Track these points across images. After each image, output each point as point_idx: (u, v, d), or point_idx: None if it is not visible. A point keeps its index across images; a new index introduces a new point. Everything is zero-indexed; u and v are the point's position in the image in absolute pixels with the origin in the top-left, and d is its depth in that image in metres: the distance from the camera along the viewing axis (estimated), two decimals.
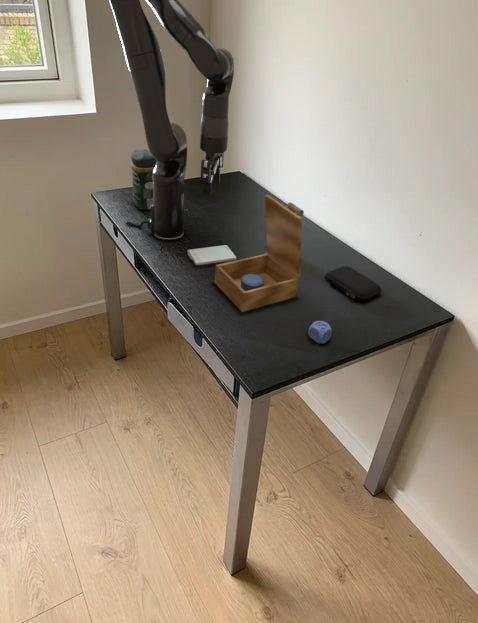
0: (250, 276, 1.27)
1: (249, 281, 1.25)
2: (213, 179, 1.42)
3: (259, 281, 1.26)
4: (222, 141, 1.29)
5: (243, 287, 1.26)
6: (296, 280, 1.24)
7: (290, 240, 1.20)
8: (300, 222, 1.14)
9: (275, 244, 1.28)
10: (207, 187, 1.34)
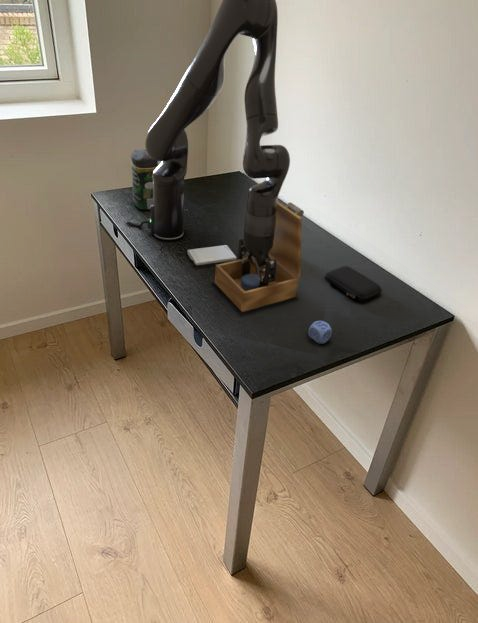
0: (250, 276, 1.27)
1: (249, 281, 1.25)
2: (244, 272, 1.29)
3: (259, 281, 1.26)
4: None
5: (243, 287, 1.26)
6: (296, 280, 1.24)
7: (290, 240, 1.20)
8: (300, 222, 1.14)
9: (275, 244, 1.28)
10: (266, 285, 1.23)
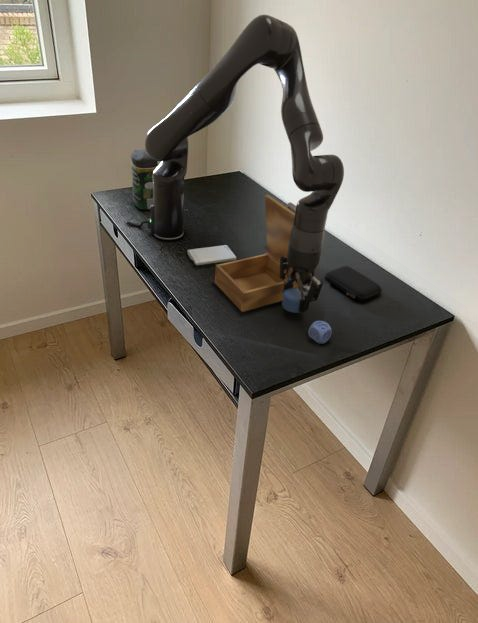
0: (293, 291, 1.19)
1: (293, 297, 1.16)
2: None
3: None
4: None
5: (286, 303, 1.17)
6: None
7: None
8: None
9: (275, 244, 1.28)
10: (308, 304, 1.15)
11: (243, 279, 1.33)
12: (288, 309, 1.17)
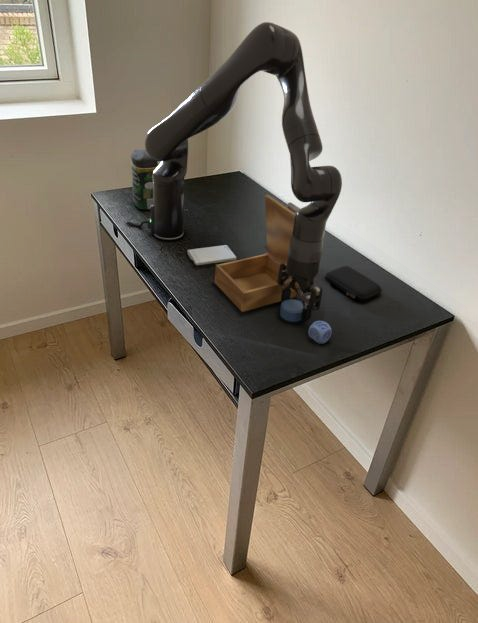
0: (290, 302, 1.21)
1: (290, 308, 1.18)
2: (284, 298, 1.21)
3: (300, 308, 1.19)
4: None
5: (283, 314, 1.19)
6: None
7: None
8: None
9: (275, 244, 1.28)
10: (310, 313, 1.15)
11: (243, 279, 1.33)
12: None
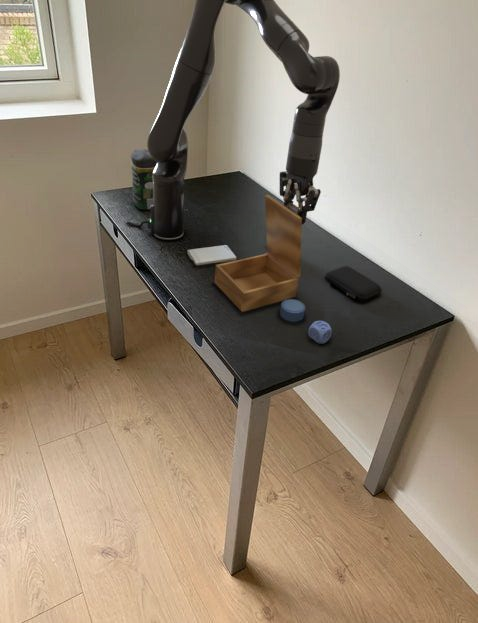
0: (290, 302, 1.21)
1: (290, 308, 1.18)
2: None
3: (300, 308, 1.19)
4: None
5: (283, 314, 1.19)
6: (296, 280, 1.24)
7: (290, 240, 1.20)
8: (300, 222, 1.14)
9: (275, 244, 1.28)
10: (305, 216, 1.18)
11: (243, 279, 1.33)
12: None
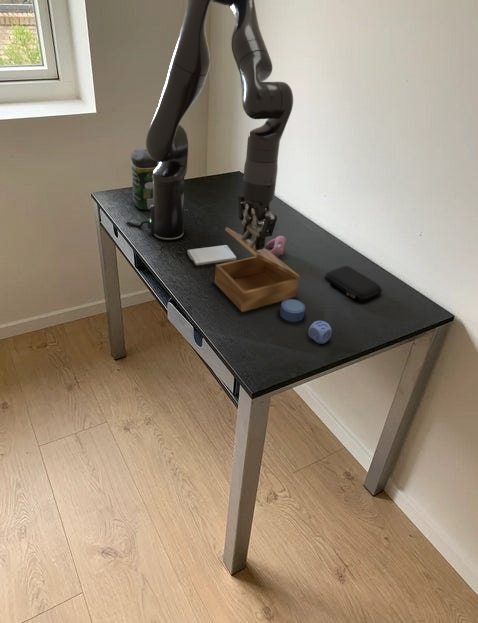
0: (290, 302, 1.21)
1: (290, 308, 1.18)
2: None
3: (300, 308, 1.19)
4: (275, 184, 1.11)
5: (283, 314, 1.19)
6: (296, 280, 1.24)
7: None
8: (259, 256, 1.13)
9: None
10: (263, 241, 1.16)
11: (243, 279, 1.33)
12: None
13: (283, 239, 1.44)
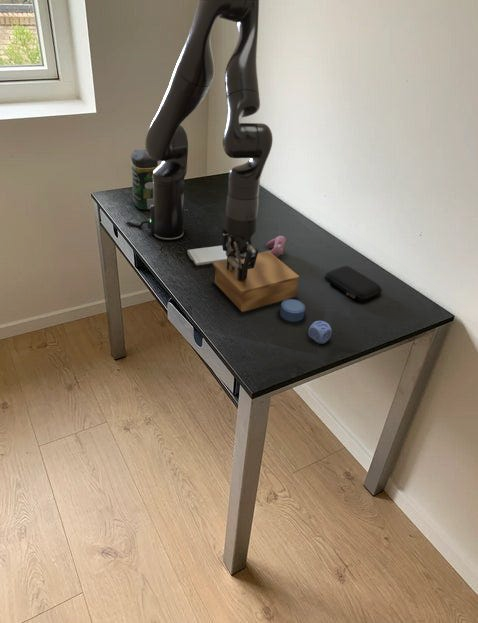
0: (290, 302, 1.21)
1: (290, 308, 1.18)
2: None
3: (300, 308, 1.19)
4: None
5: (283, 314, 1.19)
6: (296, 280, 1.24)
7: None
8: (245, 291, 1.17)
9: None
10: (246, 272, 1.19)
11: None
12: None
13: (283, 239, 1.44)
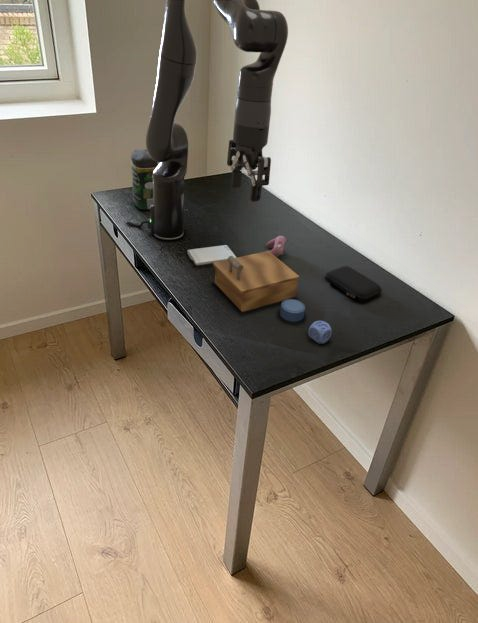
0: (290, 302, 1.21)
1: (290, 308, 1.18)
2: (234, 181, 1.13)
3: (300, 308, 1.19)
4: None
5: (283, 314, 1.19)
6: (296, 280, 1.24)
7: None
8: (245, 291, 1.17)
9: None
10: (259, 191, 1.06)
11: None
12: None
13: (283, 239, 1.44)
